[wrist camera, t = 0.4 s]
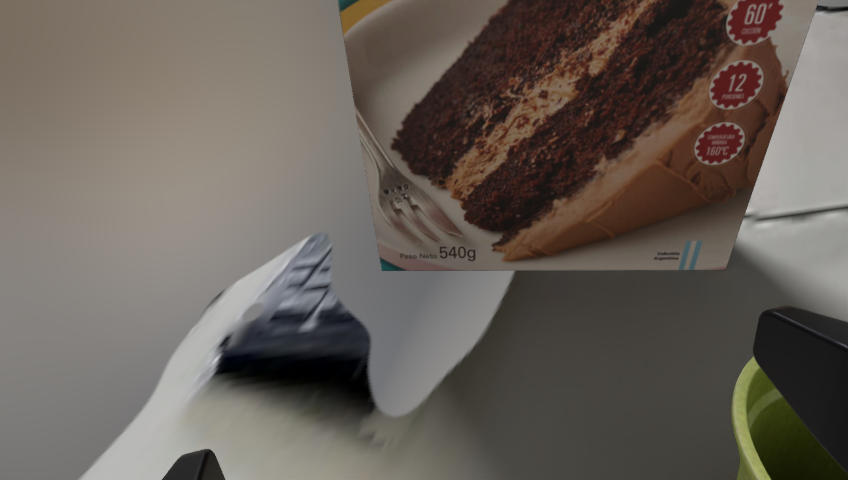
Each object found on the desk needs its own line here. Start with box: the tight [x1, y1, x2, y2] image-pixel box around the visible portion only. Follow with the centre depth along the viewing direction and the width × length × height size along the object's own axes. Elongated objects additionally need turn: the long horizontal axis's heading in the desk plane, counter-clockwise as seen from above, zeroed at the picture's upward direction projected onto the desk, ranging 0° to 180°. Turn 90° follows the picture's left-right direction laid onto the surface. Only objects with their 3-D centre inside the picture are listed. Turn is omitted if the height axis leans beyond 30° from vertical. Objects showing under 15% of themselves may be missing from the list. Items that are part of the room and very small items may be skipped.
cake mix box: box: [338, 0, 819, 271], centre depth 28 cm, size 22×6×30 cm, turn 85°
